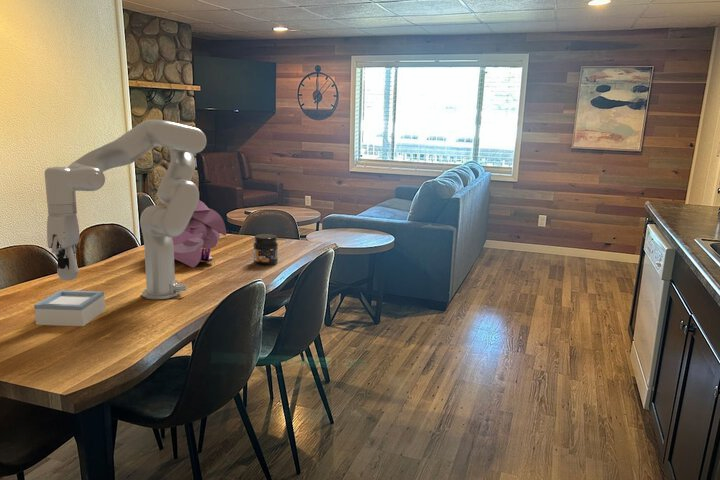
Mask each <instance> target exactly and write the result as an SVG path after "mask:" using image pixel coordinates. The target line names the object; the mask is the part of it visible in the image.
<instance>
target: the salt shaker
mask: <svg viewBox="0 0 720 480" xmlns="http://www.w3.org/2000/svg"><path fill="white" fill-rule="evenodd" d="M59 247H61V246H59ZM60 251H62V252H63V250H60ZM74 255H75V254H74V253H73V249H72V246H70V247H68V248H67V258H69V270H68V267H67V265H66V268H64V269H60V267H59V270H58V267H57V268H56V269H57V270H56V271H57V272H56V274H57V276H58V277H59V279H60V280H61V281H72V280H75V279H77V277H78V274H79V270H80V269H79V267H78V263H77V259H76V260H75V256H76V255H75V256H74Z"/></svg>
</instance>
